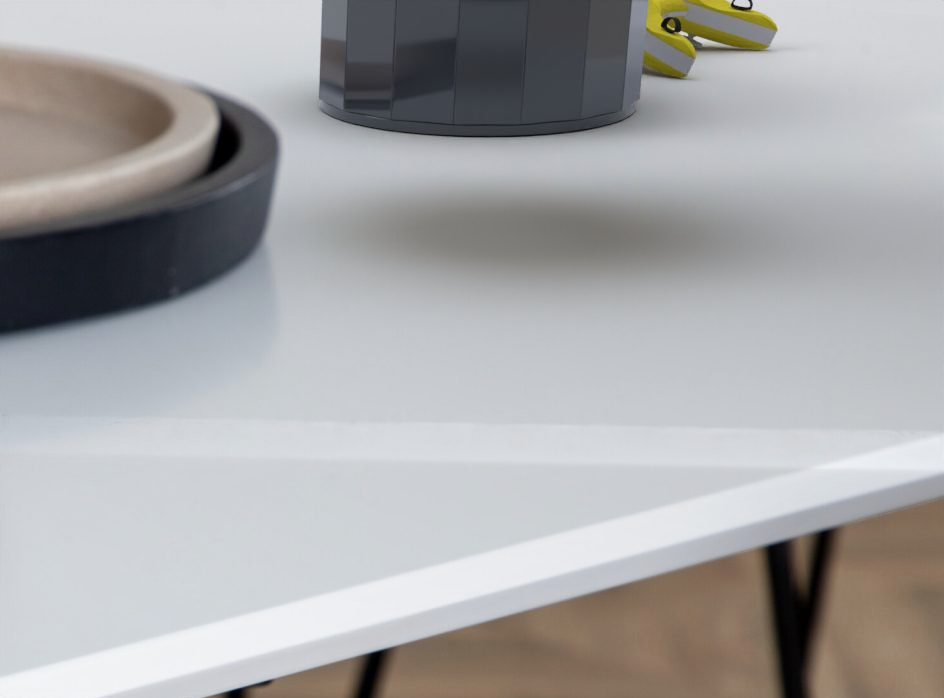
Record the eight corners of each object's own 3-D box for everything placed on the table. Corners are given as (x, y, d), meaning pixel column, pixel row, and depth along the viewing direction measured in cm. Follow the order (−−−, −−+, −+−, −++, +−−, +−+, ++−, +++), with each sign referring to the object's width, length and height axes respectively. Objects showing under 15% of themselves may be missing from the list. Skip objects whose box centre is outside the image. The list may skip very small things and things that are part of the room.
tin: (615, 75, 113) (631, -104, 109) (656, 136, 99) (675, -66, 96) (318, 76, 114) (323, -100, 111) (318, 136, 101) (325, -62, 98)
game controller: (654, 18, 122) (683, -43, 119) (755, 74, 119) (787, 13, 117) (566, 45, 115) (595, -19, 113) (671, 105, 112) (703, 41, 110)
